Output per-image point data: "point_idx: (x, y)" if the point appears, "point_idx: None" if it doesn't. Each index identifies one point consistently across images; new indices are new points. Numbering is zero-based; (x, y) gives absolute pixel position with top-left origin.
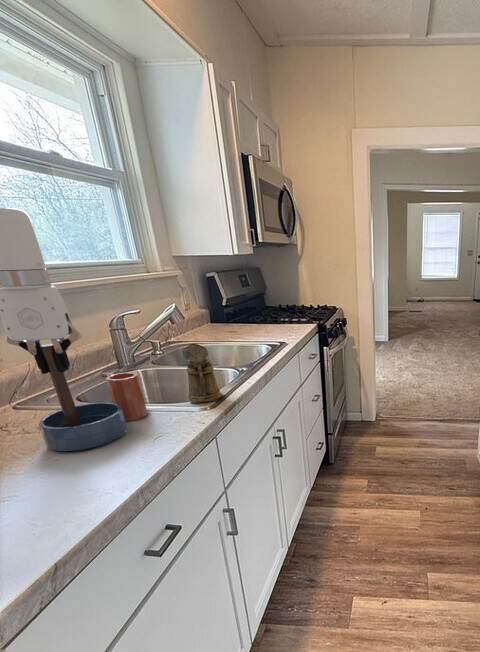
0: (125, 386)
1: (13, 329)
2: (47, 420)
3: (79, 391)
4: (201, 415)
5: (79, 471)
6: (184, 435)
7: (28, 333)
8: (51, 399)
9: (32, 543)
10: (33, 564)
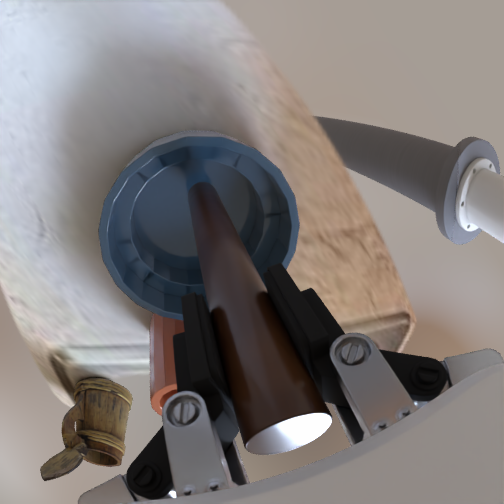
0: (160, 371)
1: None
2: (286, 212)
3: None
4: (43, 331)
5: (103, 57)
6: (3, 244)
7: (407, 499)
8: None
9: None
10: None
